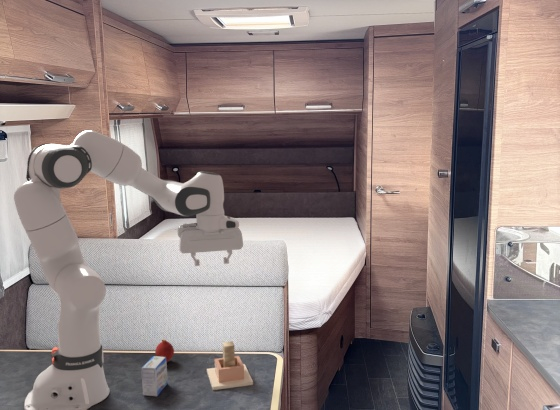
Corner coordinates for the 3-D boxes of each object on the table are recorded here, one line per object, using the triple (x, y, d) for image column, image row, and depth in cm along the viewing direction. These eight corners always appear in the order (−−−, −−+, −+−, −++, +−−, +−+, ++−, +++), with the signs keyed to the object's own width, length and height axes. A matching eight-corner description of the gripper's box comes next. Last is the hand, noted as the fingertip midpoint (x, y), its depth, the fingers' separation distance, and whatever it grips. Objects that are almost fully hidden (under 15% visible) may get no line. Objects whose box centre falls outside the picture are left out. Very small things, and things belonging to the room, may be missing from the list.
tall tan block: (225, 377, 170) (224, 346, 168) (223, 373, 173) (222, 342, 171) (235, 376, 170) (234, 345, 169) (233, 372, 173) (232, 341, 172)
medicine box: (157, 397, 161) (155, 368, 159) (142, 395, 162) (140, 367, 160) (167, 383, 168) (166, 356, 167) (153, 382, 169) (152, 355, 168)
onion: (167, 356, 186) (166, 334, 185) (177, 362, 182) (177, 339, 181) (152, 362, 182) (151, 339, 181) (162, 368, 178) (161, 344, 177)
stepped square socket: (212, 390, 164) (212, 374, 164) (206, 371, 176) (206, 356, 175) (253, 384, 168) (252, 368, 167) (244, 366, 179) (244, 352, 178)
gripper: (178, 226, 174) (179, 269, 176) (243, 222, 179) (244, 264, 181) (176, 222, 180) (178, 264, 182) (239, 218, 185) (240, 259, 187)
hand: (211, 264), depth 182 cm, fingers open, 8 cm apart
